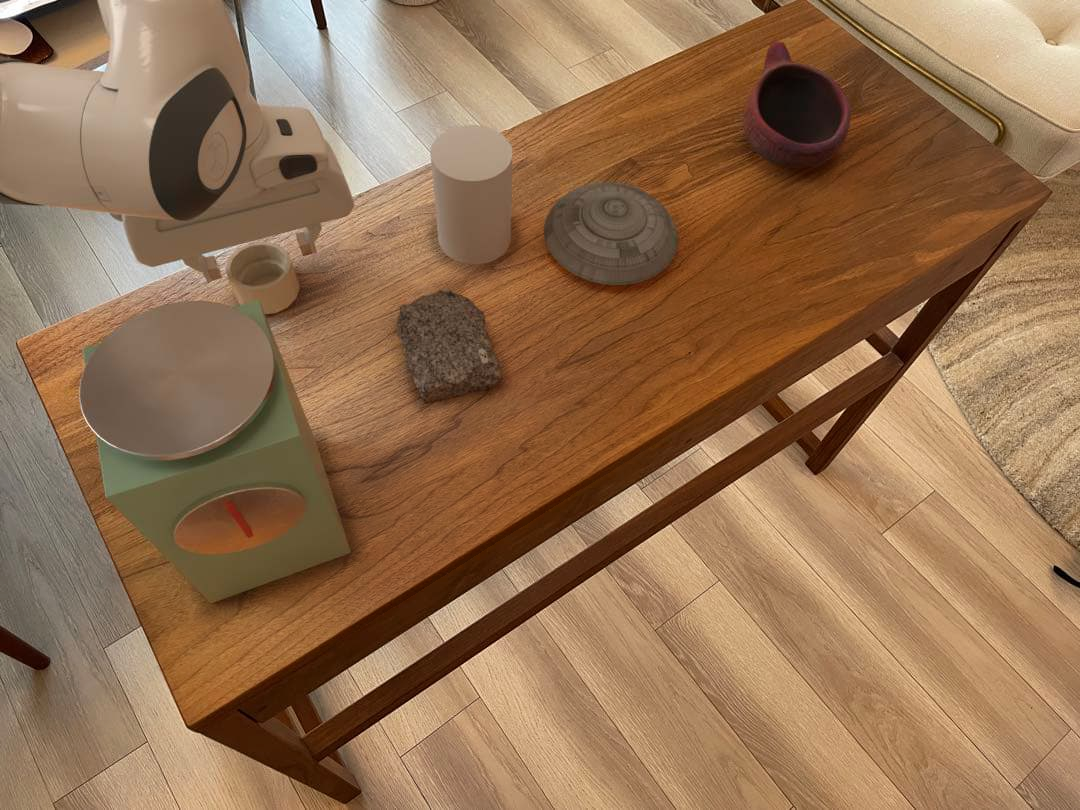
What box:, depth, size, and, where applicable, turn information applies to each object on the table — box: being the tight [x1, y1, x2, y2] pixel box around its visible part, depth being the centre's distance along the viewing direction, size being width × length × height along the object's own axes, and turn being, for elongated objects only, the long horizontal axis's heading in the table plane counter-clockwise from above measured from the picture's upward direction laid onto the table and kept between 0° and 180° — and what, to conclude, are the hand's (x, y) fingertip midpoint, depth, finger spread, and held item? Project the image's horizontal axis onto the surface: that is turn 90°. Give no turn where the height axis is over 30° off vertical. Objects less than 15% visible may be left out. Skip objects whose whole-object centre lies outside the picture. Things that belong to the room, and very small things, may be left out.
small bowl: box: [225, 240, 300, 315], centre depth 82 cm, size 6×6×4 cm
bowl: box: [742, 40, 852, 169], centre depth 97 cm, size 16×13×8 cm
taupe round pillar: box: [430, 124, 514, 266], centre depth 84 cm, size 8×8×12 cm
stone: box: [396, 289, 502, 404], centre depth 79 cm, size 12×9×4 cm
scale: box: [78, 300, 352, 604], centre depth 61 cm, size 12×13×23 cm
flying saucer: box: [543, 181, 679, 286], centre depth 88 cm, size 15×15×6 cm
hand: (261, 262), depth 80 cm, fingers open, 8 cm apart
